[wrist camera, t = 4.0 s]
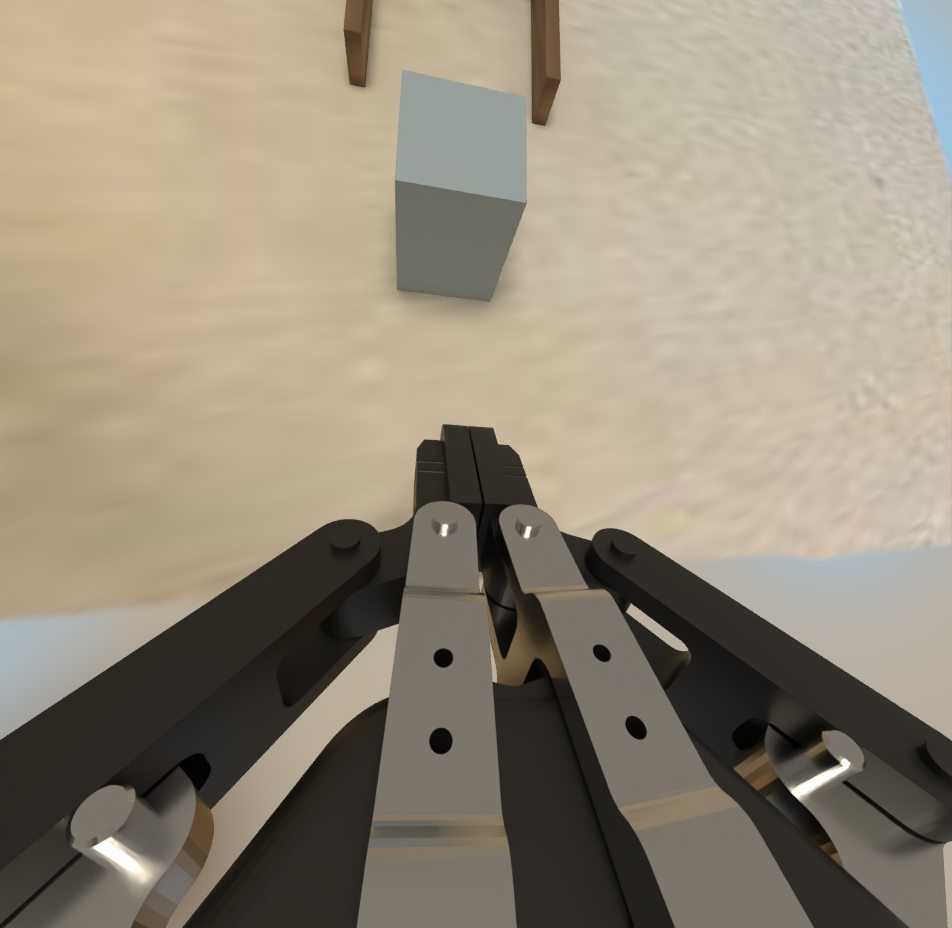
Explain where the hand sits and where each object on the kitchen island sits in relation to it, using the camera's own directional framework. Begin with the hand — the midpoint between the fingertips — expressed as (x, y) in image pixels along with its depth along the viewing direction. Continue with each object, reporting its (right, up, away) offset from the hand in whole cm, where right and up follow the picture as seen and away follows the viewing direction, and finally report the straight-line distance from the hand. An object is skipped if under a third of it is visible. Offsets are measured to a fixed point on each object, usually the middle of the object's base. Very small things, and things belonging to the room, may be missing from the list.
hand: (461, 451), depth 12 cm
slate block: (-2, +13, +14) cm, 20 cm away
